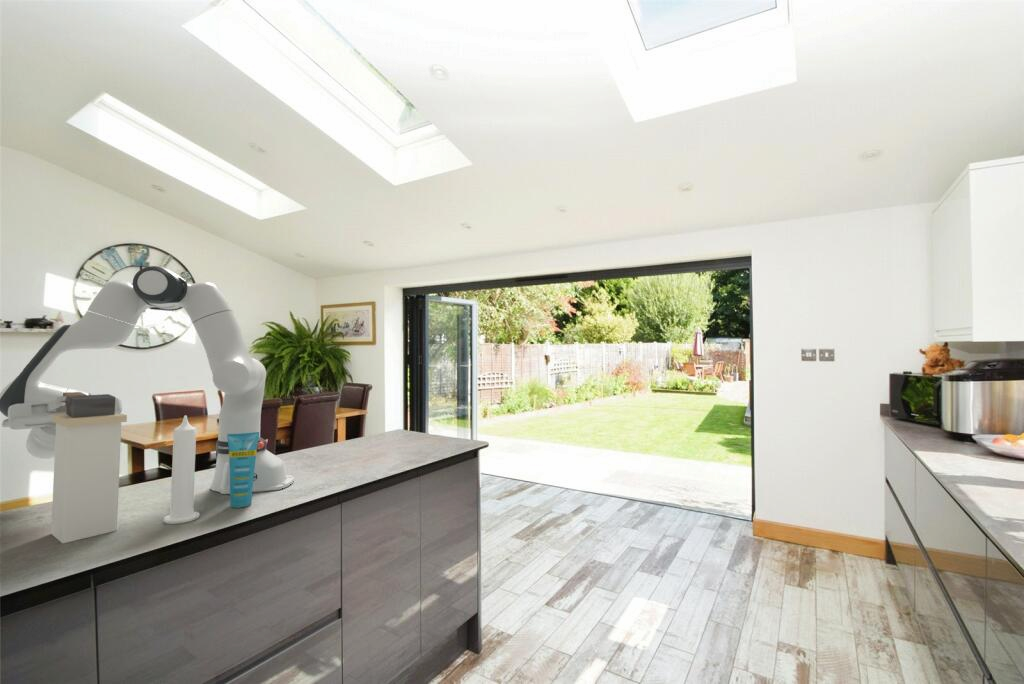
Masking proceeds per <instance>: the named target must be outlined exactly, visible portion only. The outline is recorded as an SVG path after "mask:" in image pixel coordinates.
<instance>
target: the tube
mask: <svg viewBox="0 0 1024 684" xmlns="http://www.w3.org/2000/svg"><path fill="white" fill-rule="evenodd" d="M259 433H260V434H261V431H260V432H251V433H239V434H227V439H228V446H229V463H230V494H229V506H230V507H231V508H235V509H237V508H239V509H240V508H246V507H249V506H251V504H252V498H253V492H252V490H253V479H254V469H255V460H256V452H257V445H258V439H259Z"/></svg>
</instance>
